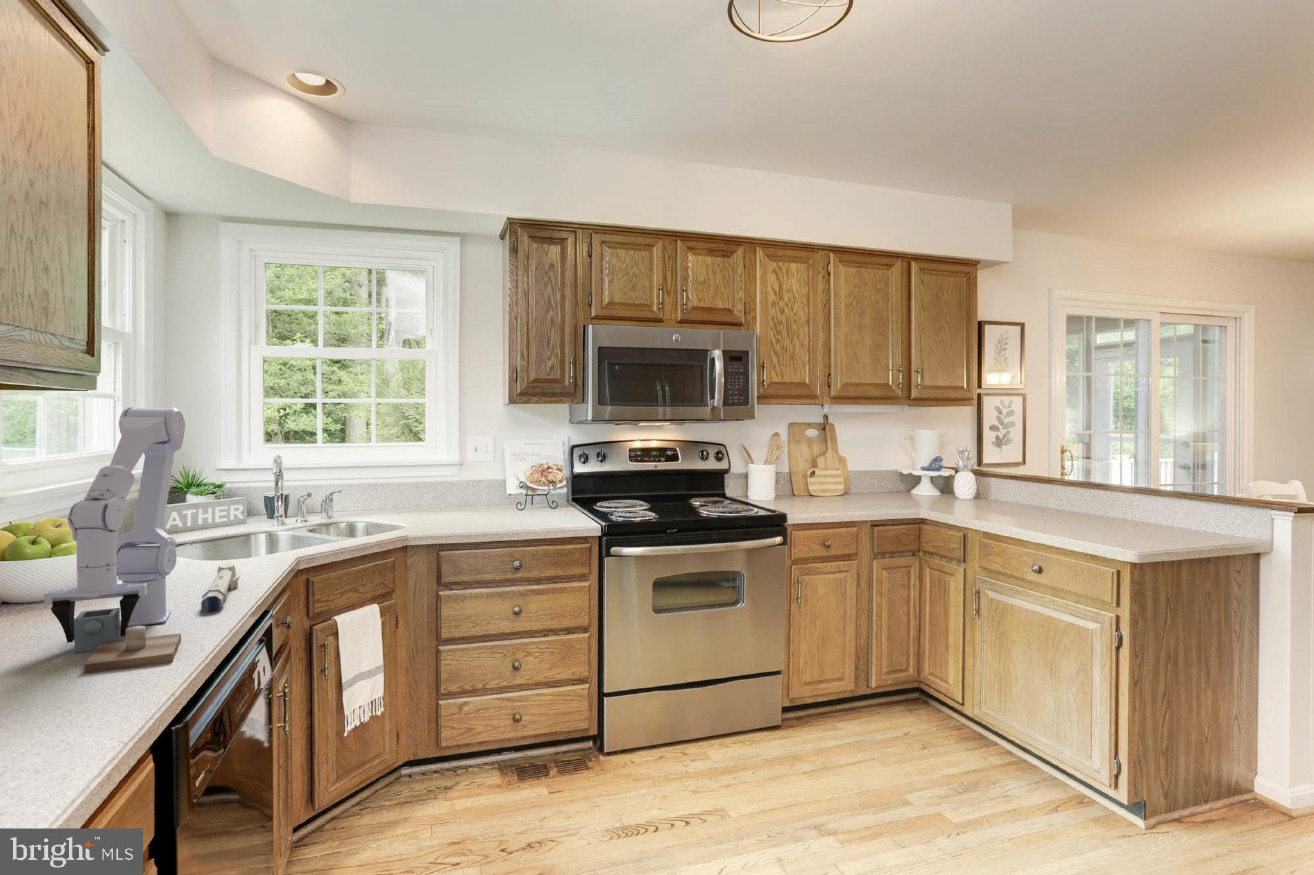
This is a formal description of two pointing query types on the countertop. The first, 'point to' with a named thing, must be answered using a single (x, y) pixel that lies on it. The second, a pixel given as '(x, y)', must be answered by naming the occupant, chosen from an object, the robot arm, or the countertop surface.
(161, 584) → the robot arm
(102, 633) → the duct sleeve
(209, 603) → the beige flashlight
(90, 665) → the base
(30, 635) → the countertop surface
